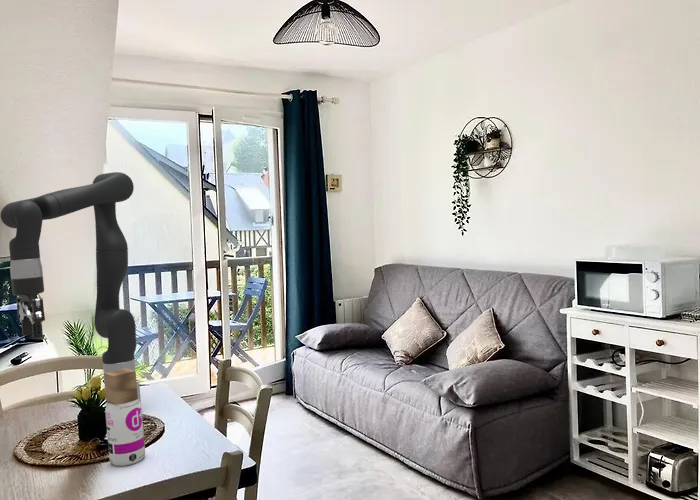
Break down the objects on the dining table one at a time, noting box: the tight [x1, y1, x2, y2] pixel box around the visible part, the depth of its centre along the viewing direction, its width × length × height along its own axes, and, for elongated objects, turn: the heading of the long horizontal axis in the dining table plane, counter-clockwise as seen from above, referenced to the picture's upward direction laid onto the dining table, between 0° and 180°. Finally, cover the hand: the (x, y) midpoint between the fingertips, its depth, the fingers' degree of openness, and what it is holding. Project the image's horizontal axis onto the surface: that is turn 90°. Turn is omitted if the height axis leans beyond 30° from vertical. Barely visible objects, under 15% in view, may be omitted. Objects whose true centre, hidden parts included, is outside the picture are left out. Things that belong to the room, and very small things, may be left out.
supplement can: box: [104, 399, 146, 467], centre depth 147 cm, size 8×8×15 cm
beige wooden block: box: [103, 368, 138, 405], centre depth 146 cm, size 6×6×7 cm
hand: (32, 336), depth 160 cm, fingers open, 8 cm apart
